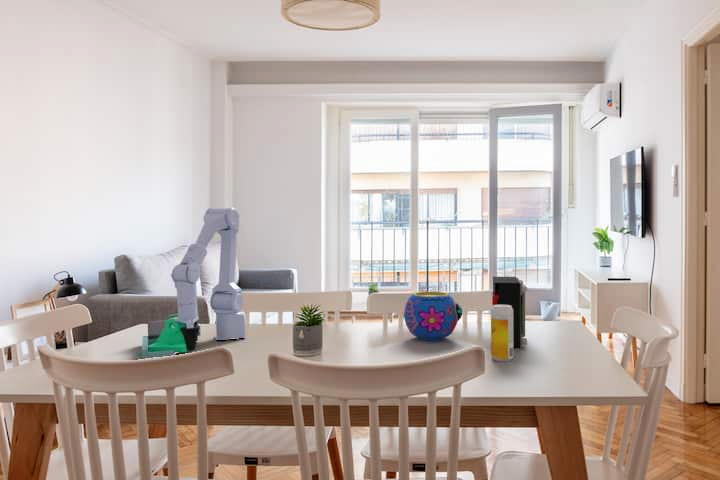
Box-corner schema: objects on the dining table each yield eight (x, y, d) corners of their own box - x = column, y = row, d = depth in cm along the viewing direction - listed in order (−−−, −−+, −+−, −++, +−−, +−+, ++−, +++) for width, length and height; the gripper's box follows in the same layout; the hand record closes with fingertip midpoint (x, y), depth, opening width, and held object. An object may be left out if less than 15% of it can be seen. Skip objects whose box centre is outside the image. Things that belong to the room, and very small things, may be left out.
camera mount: (146, 355, 168) (145, 321, 167) (158, 349, 175) (157, 316, 175) (185, 355, 167) (184, 321, 166) (195, 349, 174) (194, 316, 174)
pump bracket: (171, 346, 180) (171, 333, 179) (174, 361, 160) (173, 347, 160) (143, 348, 177) (142, 336, 176) (142, 364, 157) (141, 350, 157)
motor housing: (199, 339, 189) (198, 311, 189) (201, 344, 182) (200, 315, 181) (148, 343, 184) (147, 314, 183) (148, 348, 176) (147, 318, 176)
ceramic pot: (468, 342, 179) (468, 295, 178) (417, 347, 173) (416, 298, 173) (444, 332, 195) (443, 289, 195) (396, 336, 190) (395, 291, 189)
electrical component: (527, 349, 168) (527, 283, 168) (492, 348, 171) (492, 282, 170) (522, 337, 186) (522, 276, 185) (491, 336, 188) (490, 276, 187)
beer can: (497, 355, 162) (496, 303, 161) (517, 358, 158) (516, 305, 157) (487, 359, 157) (487, 306, 156) (507, 363, 153) (507, 308, 152)
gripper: (172, 300, 176) (174, 343, 177) (174, 308, 163) (177, 354, 164) (195, 298, 179) (198, 340, 180) (199, 305, 165) (202, 351, 166)
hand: (189, 347), depth 172 cm, fingers open, 7 cm apart
